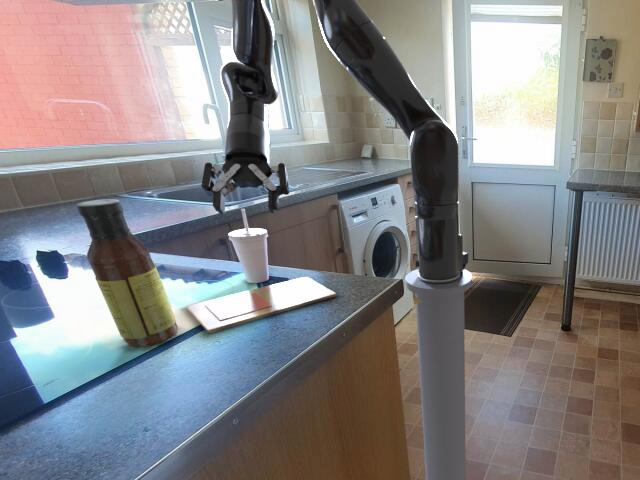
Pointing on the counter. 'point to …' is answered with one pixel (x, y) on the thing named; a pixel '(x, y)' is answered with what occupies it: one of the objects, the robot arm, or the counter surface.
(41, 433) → the counter surface
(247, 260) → the smoothie
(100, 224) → the sauce bottle
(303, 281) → the wooden board
